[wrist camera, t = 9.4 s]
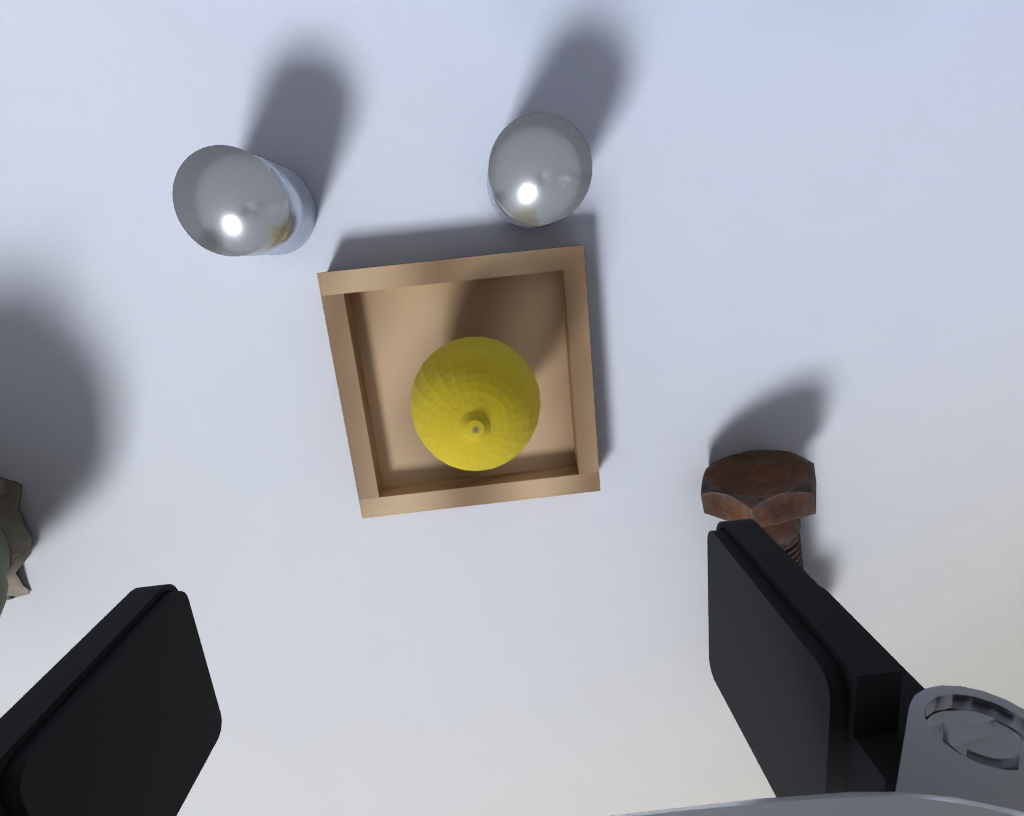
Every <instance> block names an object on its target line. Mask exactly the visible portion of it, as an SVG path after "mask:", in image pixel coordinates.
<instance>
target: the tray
mask: <svg viewBox="0 0 1024 816" xmlns="http://www.w3.org/2000/svg"><path fill="white" fill-rule="evenodd" d="M317 276H318V282H319V287H320V292H321V298H322V303H323V309H324V314H325V319H326V325H327V330H328V336H329V341H330V346H331V352H332V357H333V363H334V368H335V373H336V379H337V384H338V389H339V395H340V400H341V406H342V411H343V416H344V422H345V427H346V433H347V438H348V443H349V449H350V454H351V460H352V465H353V470H354V476H355V481H356V487H357V492H358V497H359V503H360V508H361V514H362V518H369V517H377V516H386V515H395V514H403V513H412V512H420V511H429V510H438V509H446V508H455V507H464V506H472V505H481V504H489V503H498V502H507V501H515V500H524V499H532V498H541V497H550V496H558V495H567V494H575V493H584V492H593V491H600V479H599V464H598V449H597V434H596V420H595V405H594V390H593V375H592V360H591V345H590V330H589V315H588V301H587V286H586V271H585V256H584V245H574V246H565V247H555V248H546V249H536V250H527V251H518V252H508V253H499V254H489V255H480V256H471V257H461V258H452V259H442V260H433V261H423V262H414V263H405V264H395V265H386V266H376V267H367V268H358V269H348V270H339V271H329V272H322V273H317ZM464 337H486V338H490V339H495V340H498V341H500V342H502V343H504V344H506V345H508V346H510V347H512V348H513V349H514V350H515V351H516V352H517V353H519V354H520V355H521V356H522V357H523V358H524V359H525V361H526V362H527V364H528V365H529V366H530V368H531V369H532V371H533V373H534V375H535V378H536V381H537V383H538V386H539V391H540V403H541V407H540V413H539V419H538V424H537V426H536V429H535V431H534V433H533V435H532V437H531V439H530V441H529V442H528V443H527V445H526V446H525V447H524V448H523V450H522V451H521V452H520V453H519V454H518V455H516V456H515V457H514V458H512V459H511V460H510V461H508V462H507V463H505V464H503V465H500V466H498V467H496V468H493V469H488V470H482V471H471V470H462V469H459V468H456V467H452V466H449V465H448V464H446V463H444V462H443V461H441V460H439V459H438V458H436V457H435V456H434V455H433V454H432V453H431V452H430V451H429V450H428V449H427V448H426V447H425V446H424V444H423V442H422V441H421V439H420V437H419V436H418V434H417V432H416V430H415V426H414V423H413V419H412V416H411V392H412V388H413V384H414V380H415V377H416V375H417V373H418V372H419V370H420V368H421V366H422V364H423V363H424V362H425V361H426V360H427V358H428V357H429V356H430V355H431V354H432V353H433V352H434V351H435V350H437V349H439V348H440V347H442V346H444V345H445V344H447V343H448V342H451V341H454V340H457V339H460V338H464Z"/></svg>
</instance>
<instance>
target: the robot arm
mask: <svg viewBox="0 0 1024 816" xmlns="http://www.w3.org/2000/svg"><path fill="white" fill-rule="evenodd" d="M707 544H708V615H709V662H710V667H711V671H712V675H713V678H714V680H715V682H716V684H717V686H718V688H719V690H720V691H721V693H722V695H723V697H724V699H725V701H726V703H727V705H728V707H729V708H730V710H731V712H732V714H733V716H734V718H735V720H736V722H737V723H738V725H739V727H740V729H741V731H742V733H743V735H744V737H745V739H746V740H747V742H748V744H749V746H750V748H751V750H752V752H753V754H754V756H755V757H756V759H757V761H758V763H759V765H760V767H761V769H762V771H763V773H764V774H765V776H766V778H767V780H768V782H769V784H770V786H771V788H772V789H773V791H774V793H775V795H776V797H777V798H764V799H752V800H744V801H735V802H726V803H717V804H709V805H700V806H691V807H682V808H673V809H665V810H656V811H647V812H638V813H630V814H621V815H612V816H1024V709H1022V708H1020V707H1018V706H1017V705H1015V704H1013V703H1011V702H1009V701H1007V700H1005V699H1003V698H1000V697H997V696H995V695H992V694H989V693H987V692H984V691H980V690H976V689H971V688H966V687H962V686H936V687H931V688H926V689H924V688H923V687H922V686H921V685H920V684H919V683H918V682H917V681H916V680H915V679H914V678H913V677H912V676H911V675H910V674H909V673H908V672H907V671H906V670H905V669H904V668H903V667H902V666H901V665H900V664H899V663H898V662H897V661H896V660H895V659H894V658H893V657H892V656H891V655H890V654H889V653H888V652H887V651H886V650H885V649H884V648H883V647H882V646H881V645H880V644H879V643H878V642H877V641H876V640H875V639H874V638H873V637H872V636H871V635H870V634H869V633H868V632H867V631H866V630H865V629H864V628H863V627H862V626H861V625H860V624H859V623H858V621H857V620H856V619H855V618H854V617H853V616H852V615H851V614H850V613H849V612H848V611H847V610H846V609H845V608H844V607H843V606H842V605H841V604H840V603H839V602H838V601H837V600H836V599H835V598H834V597H833V596H832V595H831V594H830V593H829V592H827V591H826V590H825V589H823V588H822V587H820V586H819V585H818V584H817V583H816V582H815V581H814V580H813V579H812V578H811V577H810V576H809V575H808V574H807V573H806V572H805V571H804V570H803V569H802V568H801V567H800V566H799V565H798V564H797V563H796V562H795V561H794V560H793V559H792V558H791V557H790V556H789V555H788V554H787V553H786V552H785V551H784V550H783V549H782V548H781V547H780V546H779V545H778V544H777V543H776V542H775V541H774V540H773V539H772V538H771V537H770V535H769V534H768V533H767V532H766V531H765V530H764V529H763V528H762V527H761V526H760V525H759V524H758V523H757V522H756V521H755V520H753V519H752V518H751V519H741V520H732V521H723V522H719V523H718V525H717V530H716V531H710V532H709V533H708V540H707ZM221 725H222V718H221V713H220V709H219V706H218V702H217V699H216V695H215V691H214V688H213V684H212V681H211V677H210V674H209V670H208V667H207V663H206V659H205V656H204V652H203V649H202V645H201V642H200V638H199V635H198V631H197V627H196V624H195V620H194V617H193V613H192V610H191V606H190V603H189V599H188V597H187V595H186V594H185V592H183V591H178V589H177V588H176V587H175V586H174V585H171V584H166V585H157V586H148V587H140V588H135V589H134V590H132V591H131V592H130V593H129V594H128V595H127V596H126V597H125V598H124V599H123V600H122V601H120V602H119V603H118V604H117V605H116V606H115V607H114V608H113V609H112V610H111V611H110V612H109V613H108V614H107V615H106V616H105V617H104V618H103V619H102V620H101V621H100V622H99V623H98V624H97V625H96V626H95V627H94V628H93V629H92V630H91V631H90V632H89V633H88V634H87V635H86V636H85V637H84V638H82V639H81V640H80V641H79V642H78V643H77V644H76V645H75V646H74V647H73V648H72V649H71V650H70V651H69V652H68V653H67V654H66V655H65V656H64V657H63V658H62V659H61V660H60V661H59V662H58V663H57V664H56V665H55V666H54V667H53V668H52V669H51V670H50V671H49V672H48V673H47V674H45V675H44V676H43V677H42V678H41V679H40V680H39V681H38V682H37V683H36V684H35V685H34V686H33V687H32V688H31V689H30V690H29V691H28V692H27V693H26V694H25V695H24V696H23V697H22V698H21V699H20V700H19V701H18V702H17V703H16V704H15V705H14V706H13V707H12V708H11V709H10V710H9V711H7V712H6V713H5V714H4V715H3V716H2V717H1V718H0V816H177V814H178V812H179V810H180V808H181V806H182V805H183V803H184V801H185V799H186V797H187V795H188V793H189V792H190V790H191V788H192V786H193V784H194V782H195V781H196V779H197V777H198V775H199V773H200V771H201V769H202V768H203V766H204V764H205V762H206V760H207V758H208V757H209V755H210V753H211V751H212V749H213V747H214V746H215V744H216V742H217V740H218V738H219V735H220V731H221Z"/></svg>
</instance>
